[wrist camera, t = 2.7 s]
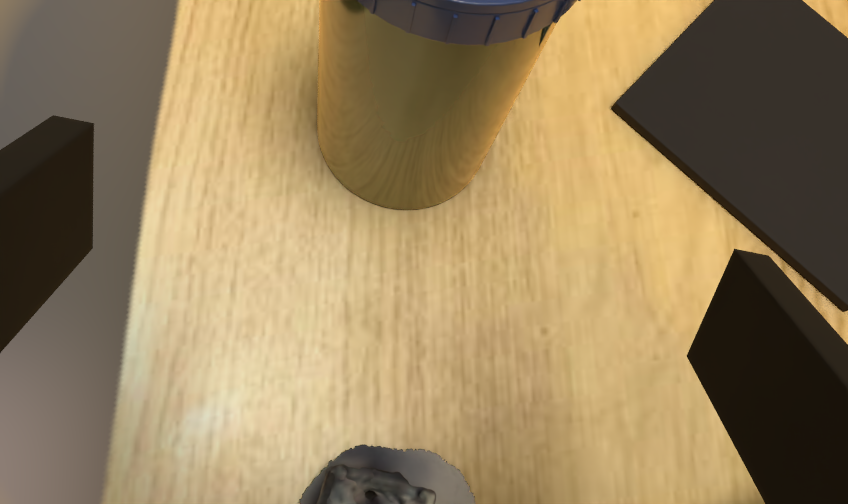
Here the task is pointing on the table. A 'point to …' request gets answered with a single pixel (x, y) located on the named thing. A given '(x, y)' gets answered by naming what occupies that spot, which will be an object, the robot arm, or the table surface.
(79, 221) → the robot arm
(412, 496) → the toy car
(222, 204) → the table surface
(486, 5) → the lid
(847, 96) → the mat
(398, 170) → the jar
